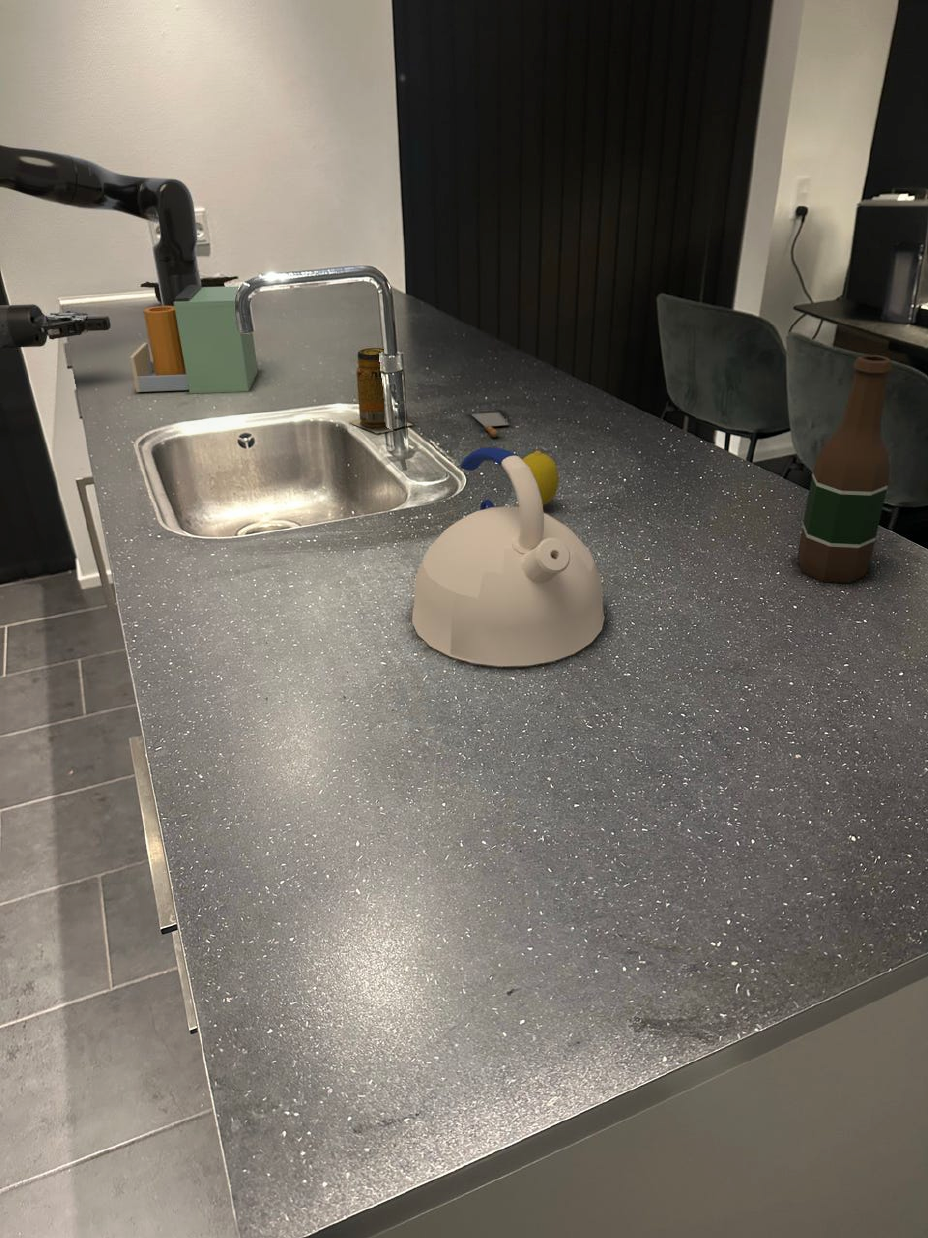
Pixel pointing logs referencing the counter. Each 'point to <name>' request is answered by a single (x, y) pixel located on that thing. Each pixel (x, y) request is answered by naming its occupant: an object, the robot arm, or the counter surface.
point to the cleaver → (491, 421)
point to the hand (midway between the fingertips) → (108, 322)
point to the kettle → (508, 581)
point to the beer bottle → (849, 483)
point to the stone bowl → (204, 283)
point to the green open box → (214, 341)
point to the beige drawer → (153, 374)
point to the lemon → (543, 474)
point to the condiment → (370, 392)
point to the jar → (164, 340)
